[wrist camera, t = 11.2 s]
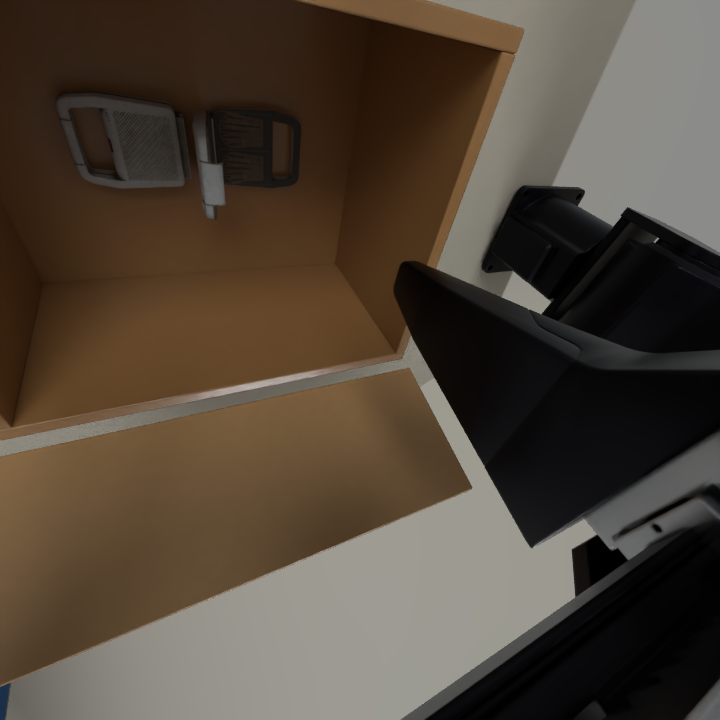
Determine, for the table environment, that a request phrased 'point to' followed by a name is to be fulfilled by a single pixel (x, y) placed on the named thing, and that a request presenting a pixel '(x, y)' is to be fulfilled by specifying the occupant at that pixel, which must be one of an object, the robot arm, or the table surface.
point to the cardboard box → (227, 195)
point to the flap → (203, 508)
